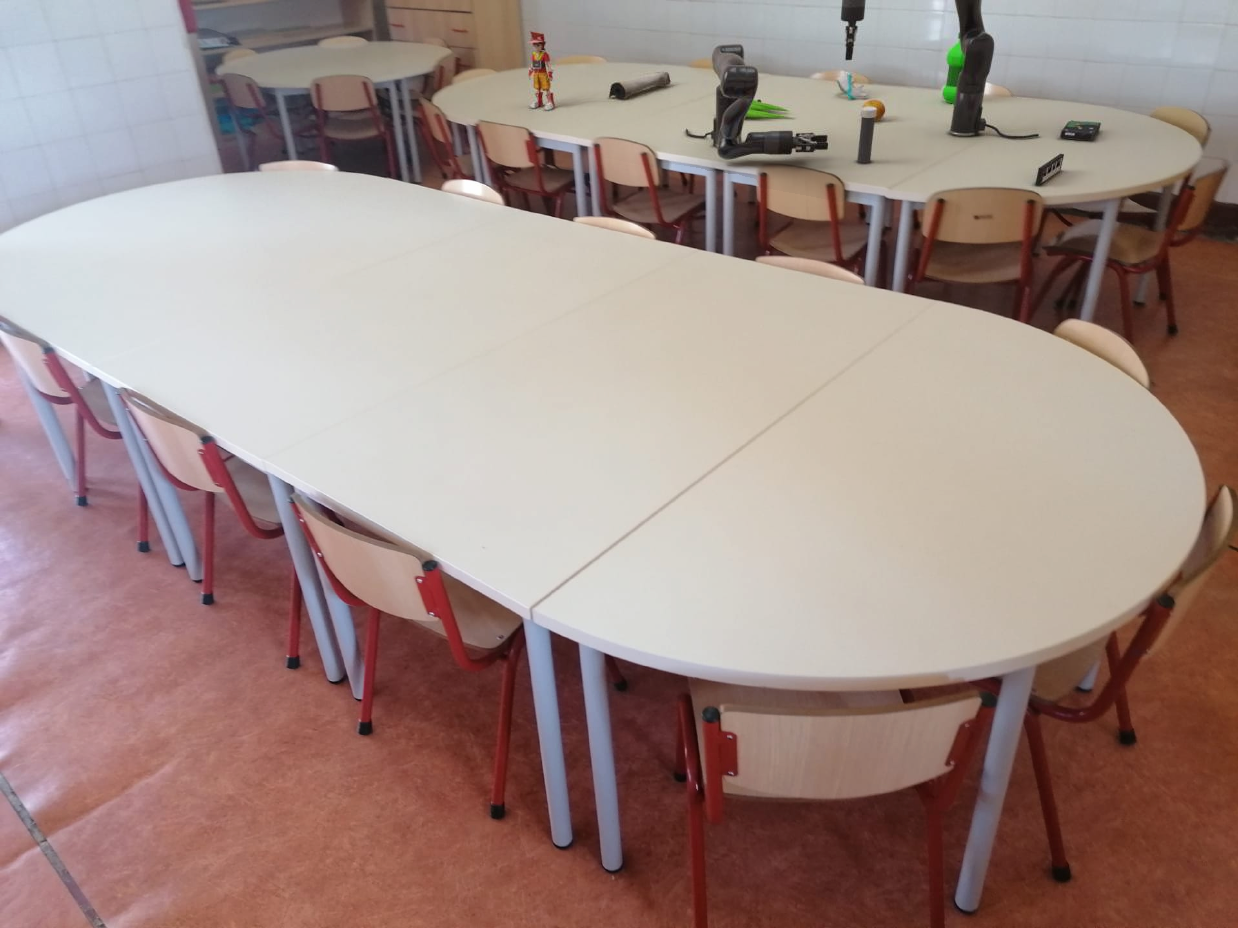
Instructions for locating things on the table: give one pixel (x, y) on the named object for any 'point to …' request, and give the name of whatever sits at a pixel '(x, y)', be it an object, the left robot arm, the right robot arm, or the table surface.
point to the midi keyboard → (1049, 169)
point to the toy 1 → (541, 71)
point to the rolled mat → (638, 84)
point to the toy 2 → (758, 112)
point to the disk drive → (1080, 130)
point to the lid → (868, 112)
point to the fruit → (877, 105)
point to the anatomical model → (850, 86)
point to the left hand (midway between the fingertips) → (827, 142)
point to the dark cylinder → (866, 140)
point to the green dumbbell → (953, 71)
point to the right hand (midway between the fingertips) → (849, 57)
